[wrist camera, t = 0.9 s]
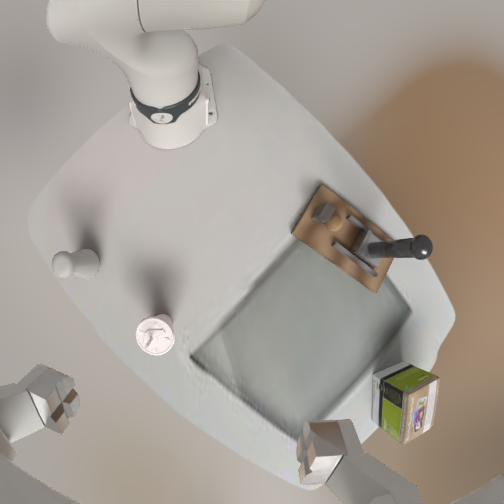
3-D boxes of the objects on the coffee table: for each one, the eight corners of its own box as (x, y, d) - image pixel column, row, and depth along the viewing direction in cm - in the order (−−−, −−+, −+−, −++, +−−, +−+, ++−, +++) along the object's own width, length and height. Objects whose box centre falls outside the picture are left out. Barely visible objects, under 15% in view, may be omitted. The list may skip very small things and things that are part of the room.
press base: (395, 246, 58) (411, 245, 52) (373, 292, 57) (388, 294, 51) (319, 186, 55) (331, 178, 50) (290, 233, 54) (300, 230, 48)
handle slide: (379, 246, 55) (442, 241, 36) (369, 267, 55) (432, 269, 36) (359, 231, 55) (421, 219, 36) (349, 252, 54) (410, 248, 35)
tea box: (400, 406, 58) (433, 428, 44) (370, 420, 56) (401, 447, 42) (403, 359, 58) (441, 377, 44) (371, 372, 57) (408, 395, 42)
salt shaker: (79, 278, 47) (46, 283, 34) (78, 249, 47) (45, 246, 34) (104, 278, 48) (75, 283, 35) (103, 248, 48) (74, 245, 35)
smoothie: (141, 318, 49) (119, 337, 35) (167, 300, 50) (153, 314, 36) (160, 345, 49) (145, 372, 36) (186, 328, 50) (179, 351, 36)
